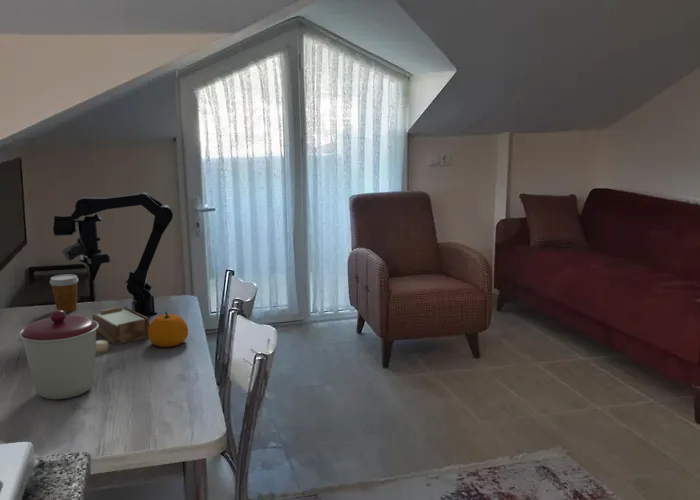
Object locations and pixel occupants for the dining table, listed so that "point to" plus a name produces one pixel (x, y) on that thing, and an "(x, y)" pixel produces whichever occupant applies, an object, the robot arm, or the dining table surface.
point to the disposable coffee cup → (65, 291)
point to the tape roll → (101, 346)
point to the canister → (61, 354)
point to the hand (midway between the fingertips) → (92, 280)
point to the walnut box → (122, 329)
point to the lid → (118, 316)
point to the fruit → (167, 330)
